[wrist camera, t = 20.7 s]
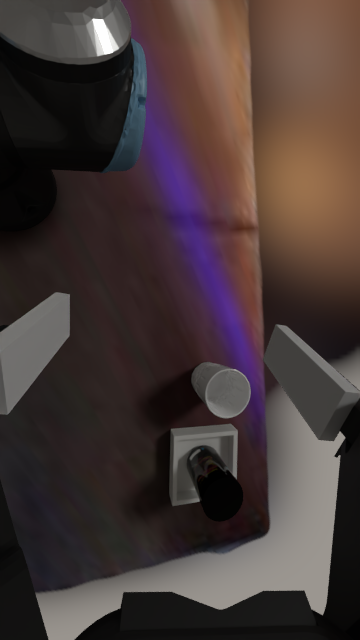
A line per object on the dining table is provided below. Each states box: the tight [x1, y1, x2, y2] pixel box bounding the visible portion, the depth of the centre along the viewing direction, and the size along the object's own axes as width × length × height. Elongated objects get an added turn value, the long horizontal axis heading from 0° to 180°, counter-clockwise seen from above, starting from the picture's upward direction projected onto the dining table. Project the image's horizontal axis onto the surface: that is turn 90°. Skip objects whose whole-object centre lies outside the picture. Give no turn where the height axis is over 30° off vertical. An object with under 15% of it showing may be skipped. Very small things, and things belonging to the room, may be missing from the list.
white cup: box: [191, 362, 251, 418], centre depth 43 cm, size 8×8×10 cm
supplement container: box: [187, 445, 243, 521], centre depth 42 cm, size 7×7×10 cm
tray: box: [169, 424, 238, 506], centre depth 46 cm, size 13×13×3 cm
